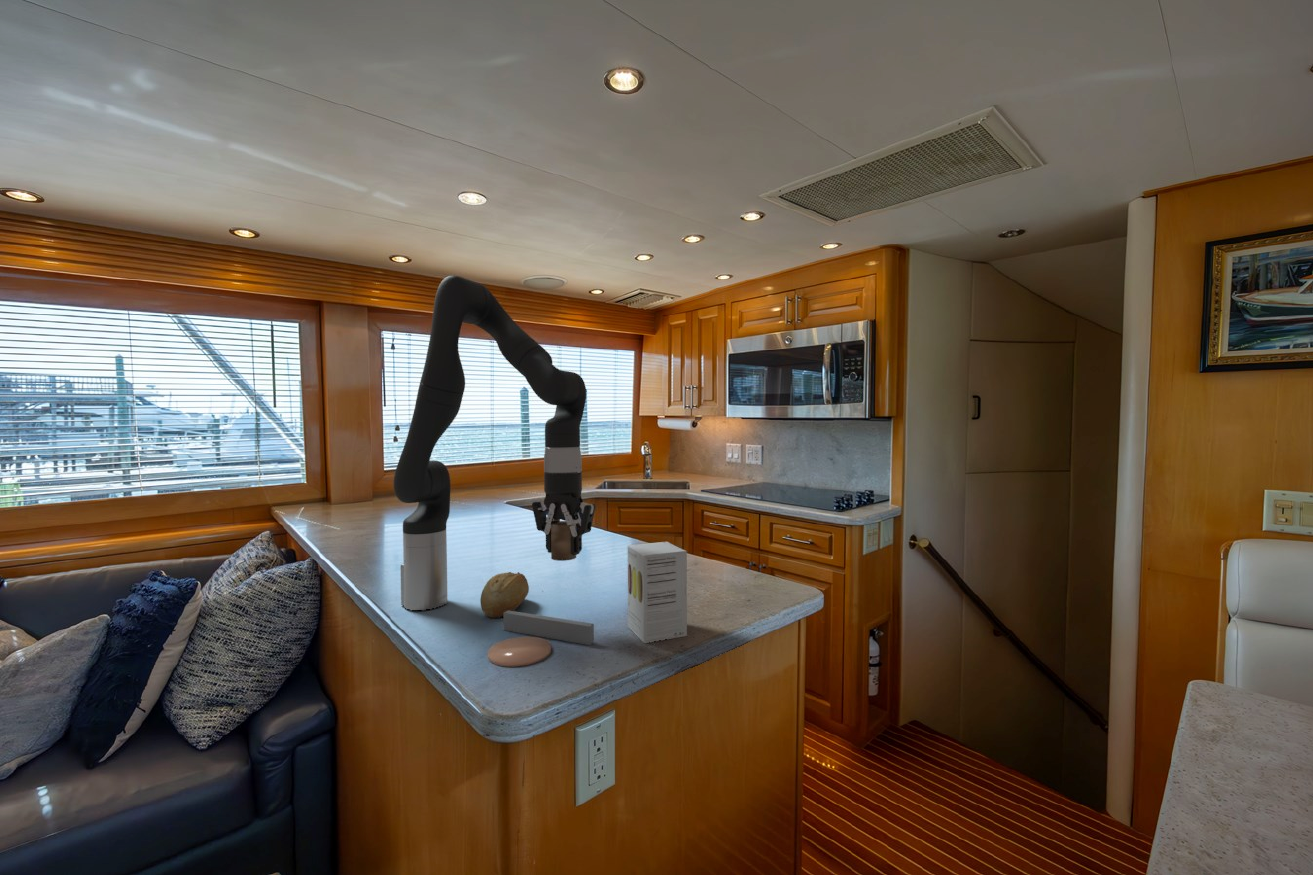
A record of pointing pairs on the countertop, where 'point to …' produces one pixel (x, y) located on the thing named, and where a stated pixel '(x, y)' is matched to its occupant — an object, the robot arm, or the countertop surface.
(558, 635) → the plastic fence
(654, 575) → the supplement box
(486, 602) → the bread roll
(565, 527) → the walnut cylinder
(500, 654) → the terracotta saucer
